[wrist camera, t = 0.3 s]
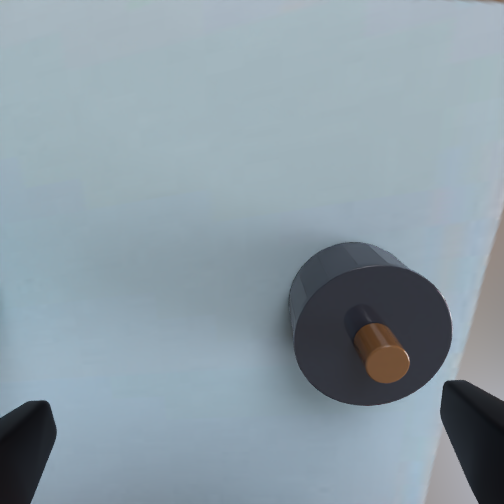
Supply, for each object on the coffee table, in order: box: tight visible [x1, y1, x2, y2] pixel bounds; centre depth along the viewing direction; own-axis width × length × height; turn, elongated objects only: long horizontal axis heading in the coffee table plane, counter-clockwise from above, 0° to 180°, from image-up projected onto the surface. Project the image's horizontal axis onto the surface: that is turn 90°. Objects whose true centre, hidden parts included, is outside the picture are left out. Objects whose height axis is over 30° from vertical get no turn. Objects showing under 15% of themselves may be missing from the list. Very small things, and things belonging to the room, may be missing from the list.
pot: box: [289, 242, 408, 331], centre depth 21 cm, size 8×8×4 cm
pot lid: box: [293, 262, 453, 406], centre depth 18 cm, size 8×8×3 cm
